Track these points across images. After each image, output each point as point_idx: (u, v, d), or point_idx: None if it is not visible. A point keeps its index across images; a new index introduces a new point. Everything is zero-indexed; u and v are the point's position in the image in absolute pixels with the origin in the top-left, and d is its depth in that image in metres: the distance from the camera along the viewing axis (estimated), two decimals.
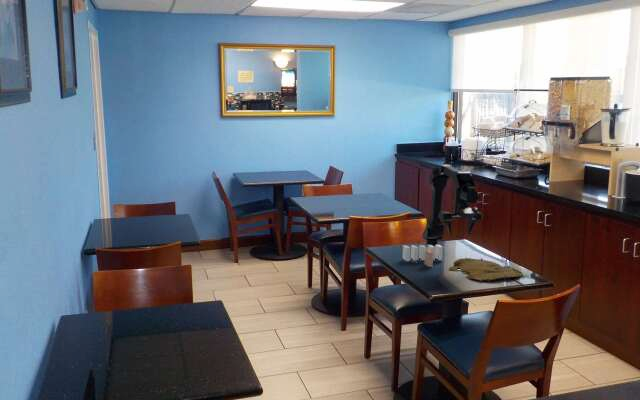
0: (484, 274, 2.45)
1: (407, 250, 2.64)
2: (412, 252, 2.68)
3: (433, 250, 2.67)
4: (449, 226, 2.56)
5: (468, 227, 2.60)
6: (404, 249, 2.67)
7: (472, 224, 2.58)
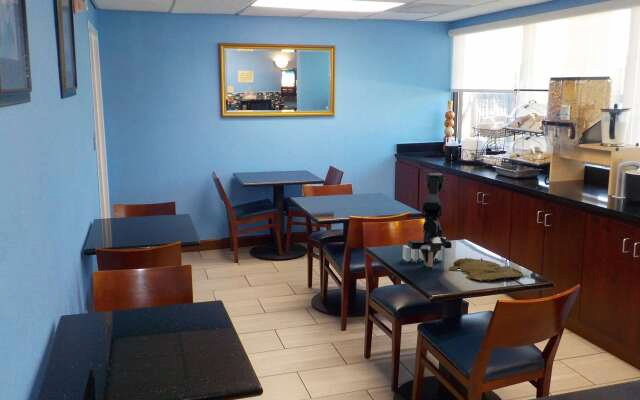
0: (484, 274, 2.45)
1: (407, 250, 2.64)
2: (412, 252, 2.68)
3: None
4: (426, 255, 2.57)
5: None
6: (404, 249, 2.67)
7: (434, 253, 2.58)
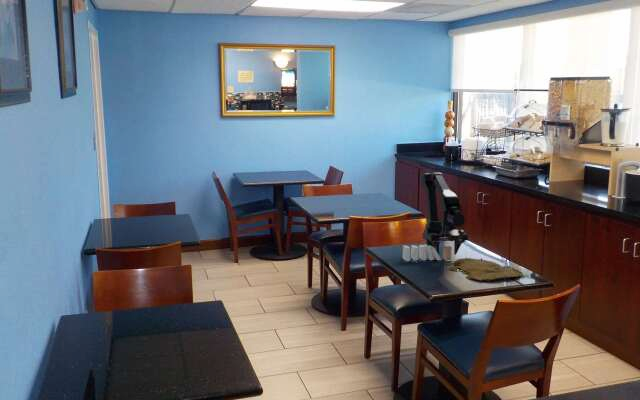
0: (484, 274, 2.45)
1: (407, 250, 2.64)
2: (412, 252, 2.68)
3: (429, 250, 2.67)
4: (437, 247, 2.68)
5: (455, 247, 2.73)
6: (404, 249, 2.67)
7: (458, 245, 2.71)
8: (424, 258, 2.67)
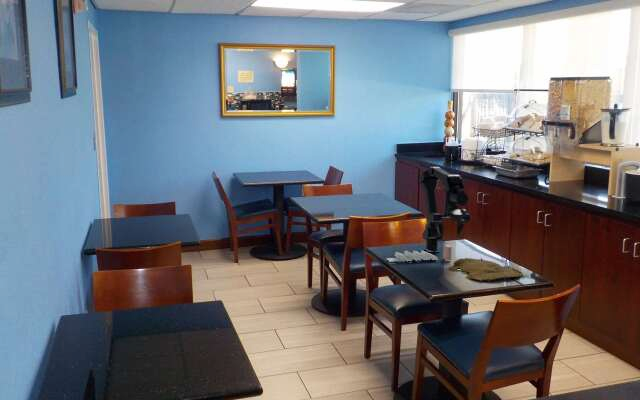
0: (484, 274, 2.45)
1: None
2: None
3: (419, 255, 2.66)
4: (439, 227, 2.67)
5: (458, 228, 2.71)
6: None
7: (461, 225, 2.69)
8: (417, 258, 2.66)
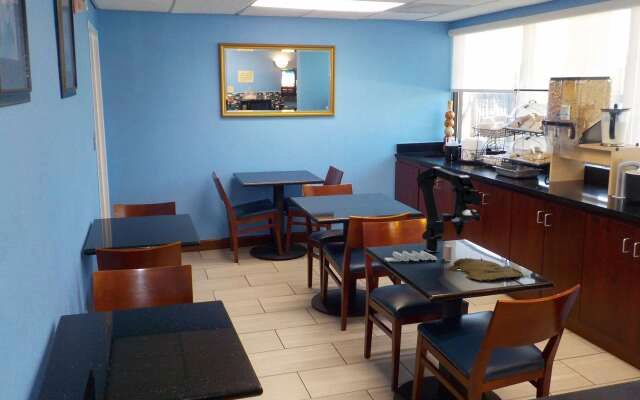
0: (484, 274, 2.45)
1: None
2: None
3: (418, 255, 2.66)
4: (458, 227, 2.69)
5: None
6: None
7: (462, 225, 2.69)
8: (415, 259, 2.65)
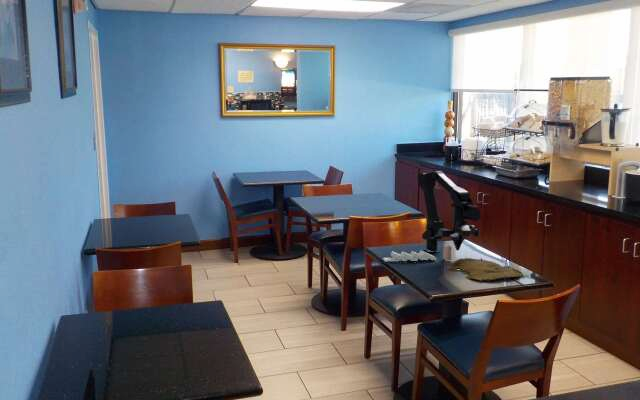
0: (484, 274, 2.45)
1: None
2: None
3: (417, 255, 2.66)
4: (457, 242, 2.70)
5: None
6: None
7: (461, 241, 2.71)
8: (414, 259, 2.65)
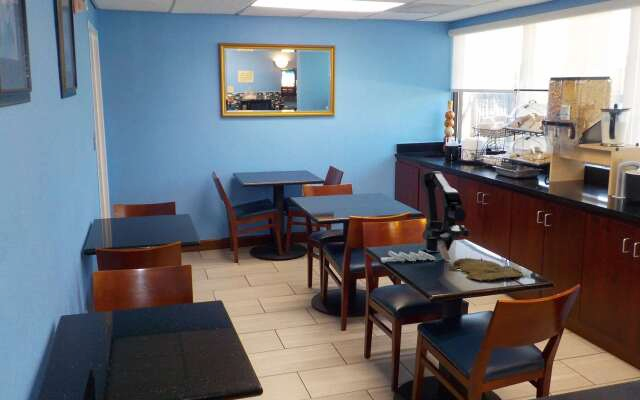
0: (484, 274, 2.45)
1: None
2: None
3: (416, 256, 2.66)
4: (446, 242, 2.69)
5: None
6: None
7: (451, 241, 2.69)
8: (412, 259, 2.65)
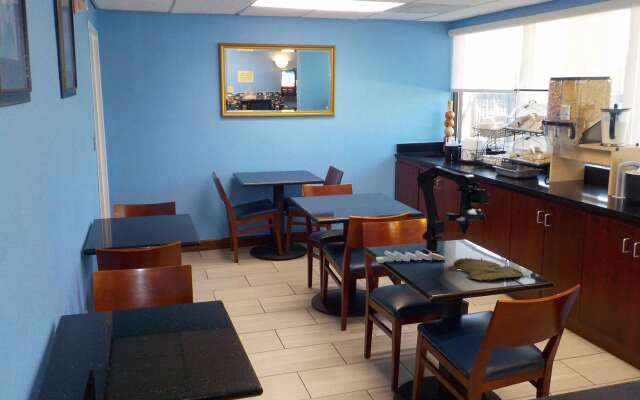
0: (484, 274, 2.45)
1: (381, 262, 2.64)
2: None
3: (411, 256, 2.66)
4: (463, 226, 2.70)
5: None
6: None
7: (467, 225, 2.70)
8: (406, 259, 2.65)
